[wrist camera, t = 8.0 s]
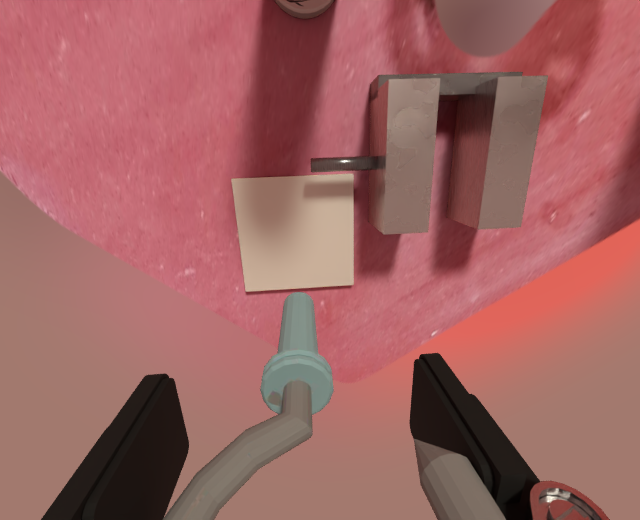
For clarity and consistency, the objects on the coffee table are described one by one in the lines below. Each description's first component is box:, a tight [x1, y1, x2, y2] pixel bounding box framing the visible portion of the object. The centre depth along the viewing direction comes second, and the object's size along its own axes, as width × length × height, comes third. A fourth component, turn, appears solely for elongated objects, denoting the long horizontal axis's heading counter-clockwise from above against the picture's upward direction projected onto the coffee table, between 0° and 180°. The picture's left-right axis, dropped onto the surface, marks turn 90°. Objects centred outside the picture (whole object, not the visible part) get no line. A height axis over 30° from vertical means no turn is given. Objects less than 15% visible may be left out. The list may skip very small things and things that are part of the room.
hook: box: [163, 292, 506, 520], centre depth 9 cm, size 8×2×15 cm, turn 108°
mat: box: [231, 174, 354, 292], centre depth 32 cm, size 12×12×1 cm
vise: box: [311, 72, 548, 235], centre depth 27 cm, size 19×13×6 cm
